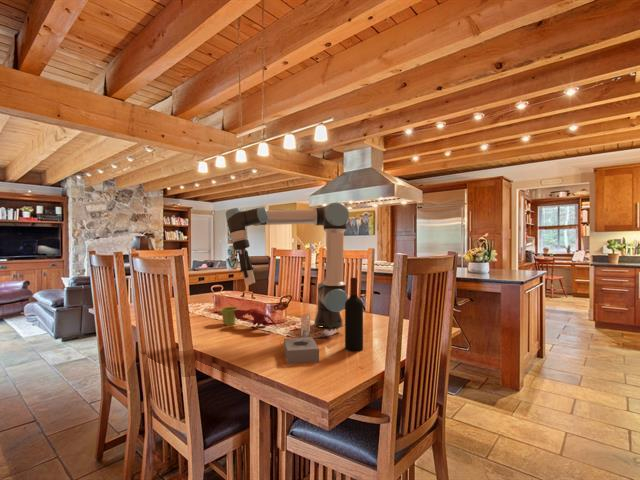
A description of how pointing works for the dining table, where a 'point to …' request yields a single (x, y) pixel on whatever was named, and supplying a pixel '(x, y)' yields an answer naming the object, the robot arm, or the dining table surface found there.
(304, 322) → the steel pin
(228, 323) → the plant pot
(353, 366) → the dining table surface
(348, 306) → the wine bottle
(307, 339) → the charcoal hole block
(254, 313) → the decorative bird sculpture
